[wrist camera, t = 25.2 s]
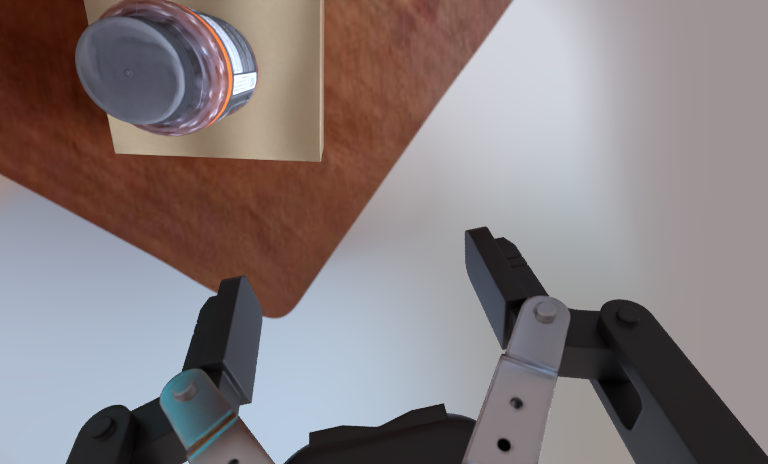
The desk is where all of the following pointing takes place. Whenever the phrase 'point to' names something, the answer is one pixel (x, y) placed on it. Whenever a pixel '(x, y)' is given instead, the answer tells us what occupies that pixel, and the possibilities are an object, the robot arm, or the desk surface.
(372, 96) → the desk surface
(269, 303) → the desk surface
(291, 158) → the stand
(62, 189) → the desk surface
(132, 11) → the supplement bottle
